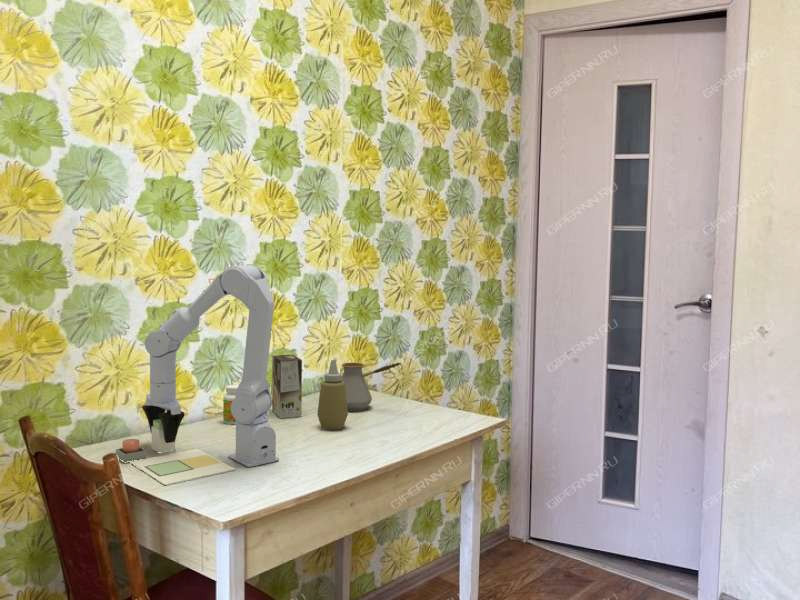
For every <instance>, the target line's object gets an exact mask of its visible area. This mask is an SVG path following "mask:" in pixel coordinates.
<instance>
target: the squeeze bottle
mask: <svg viewBox="0 0 800 600" xmlns="http://www.w3.org/2000/svg"><path fill="white" fill-rule="evenodd" d="M342 375H343V373H341V372H339V369H338V365H337V360H336V359H331V360H330V364H329V368H328V372H326V373H324V378H323V379H324V381H322V382H321V383H320V389H319V398H318V407H317V414H316V415H317V418H318V421H319V424H320V427H321V428H322V429H323V430H327V429H328V430H329V431H336V430H340V429H343V428H344V427H345V425H346V424H345V423H346V422H347V419H348V418H347V417H348V416H349V415H348V412H349V411H347V399H346V387H345V383H344V382H343V381H341V380H342ZM328 430H327V431H328Z"/></svg>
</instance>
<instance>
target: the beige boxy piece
mask: <svg viewBox="0 0 800 600" xmlns="http://www.w3.org/2000/svg"><path fill="white" fill-rule="evenodd" d="M151 427H152V434H151V450H152V449H154V450H155V451H154V450H153V451H154V452H156V451H157V452H164V453H166V452H165V451H169V452H172V451H171V450H174V451H176V441H175V442H171V443H166V442H165V439H164V431H163V426H162V422H161V420H160V419H158V420H153V426H151ZM157 452H156V453H157Z"/></svg>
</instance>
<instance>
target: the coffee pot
mask: <svg viewBox="0 0 800 600" xmlns="http://www.w3.org/2000/svg"><path fill="white" fill-rule="evenodd" d="M400 365H401V368H400ZM364 366H365V364H364V363H360V362H344V363H342V364H341V367H343V373H342V380H341V381H343V382H344V383H345V387H346V399H347V412H358V411H359V410H360V411H364V410H365V409H366V408H367V407H368V406H370V404H371V402H372V400H373V397H372V395H371V392H370V389H369V387H368V384H367V381H366V380H365V377H368V376H371V375H374V374H378V373H381V372H384V371H388V370H390V369H392V368H393V369H395V367H398V369H399V370H403V368H404V367H403V364H402V362H396V363H391V364H389V365H388V364H387V365H384V366H381V367H380V368H377V369H374V370H372V371H368V372H366V373H362V371H363V368H364ZM360 411H359V412H360Z"/></svg>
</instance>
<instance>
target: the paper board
mask: <svg viewBox="0 0 800 600" xmlns="http://www.w3.org/2000/svg"><path fill="white" fill-rule="evenodd" d="M132 464H134V465H135V466H137V467H138V468H140V469H141V470H143V471H144V472H146V473H147V474H149V475H150V476H152V477H153V478H155V479H156V480H155V479H154V480H155V481H157V480H158V481H159V482H158V481H157V482H158V483H160V482H161V483H162V484H161V483H160V484H161V485H163V484H164V485H167V486H169V485H168V484H171V485H175V484H174V483H176V484H180V483H185V482H188V481H189V482H190V481H193V479H194V480H197V479H202V478H203V479H204V478H207V477H211V476H216V475H220V474H225V473H229V472H233V470H234V471H236V469H235V467H233V466H230V465H228V464H227V463H224V462H223V461H220V460H219V459H217V458H215V457H213V456H211V455H210V454H208V453H206V452H203V451H202V450H200V449H198V448H193V449H191V450H189V449H188V450H185V451H178V452H174V453H170V454H164V455H159V456H154V457H153V456H152V457H148V458H147V459H142V460H137V461H132ZM132 464H131V465H132ZM135 466H134V467H135ZM137 467H136V468H137ZM138 468H137V469H138ZM140 469H139V470H140ZM141 470H140V471H141ZM143 471H142V472H143ZM144 472H143V473H144ZM146 473H145V474H146ZM147 474H146V475H147ZM149 475H148V476H149ZM150 476H149V477H150ZM152 477H151V478H152ZM153 478H152V479H153ZM184 481H185V482H184ZM179 482H180V483H179ZM164 485H163V486H164Z"/></svg>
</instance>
